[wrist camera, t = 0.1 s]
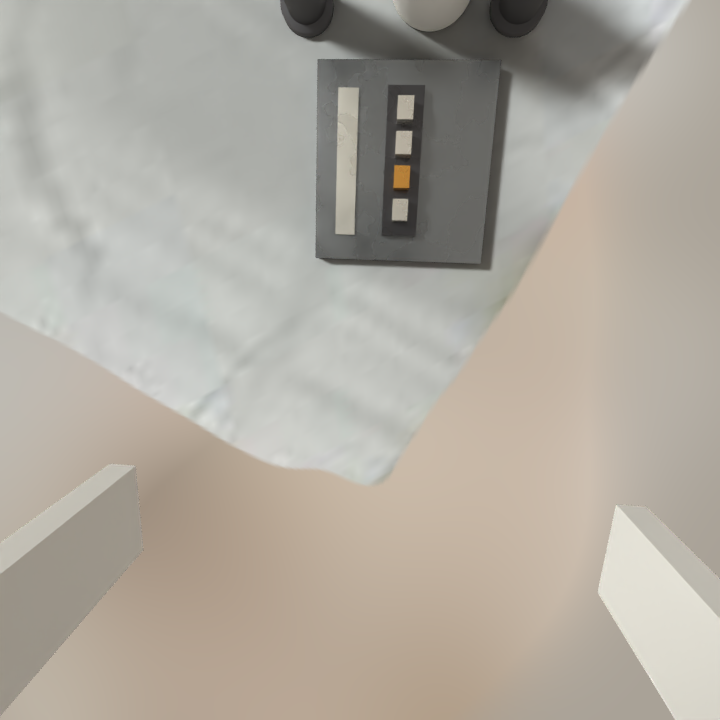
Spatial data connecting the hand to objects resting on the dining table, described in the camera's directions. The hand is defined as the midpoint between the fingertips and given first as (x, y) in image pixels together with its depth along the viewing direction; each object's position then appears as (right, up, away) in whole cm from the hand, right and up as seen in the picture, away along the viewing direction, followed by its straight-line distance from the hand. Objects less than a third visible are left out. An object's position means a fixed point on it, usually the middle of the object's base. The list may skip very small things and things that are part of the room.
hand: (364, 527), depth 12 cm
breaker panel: (+3, +21, +24) cm, 31 cm away
